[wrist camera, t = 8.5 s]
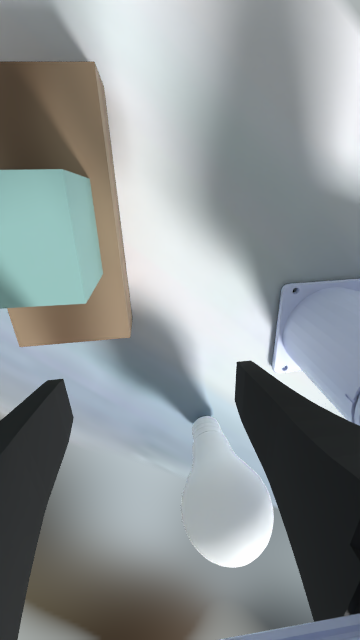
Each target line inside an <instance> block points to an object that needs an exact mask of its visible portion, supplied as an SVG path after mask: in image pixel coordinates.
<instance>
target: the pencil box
mask: <svg viewBox="0 0 360 640" xmlns="http://www.w3.org/2000/svg"><path fill="white" fill-rule="evenodd" d="M38 169H63V170H66V171H69V172H72V173H75V174H78V175H81V176H83V177H86V178H89V179H90V184H91V191H92V198H93V205H94V212H95V219H96V227H97V234H98V241H99V248H100V255H101V262H102V269H103V275H102V277H101V278H100V280H99V282H98V284H97V285H96V287H95V289H94V291H93V292H92V294H91V296H90V297H89V299H88V301H87V303H86V304H70V305H53V306H36V307H18V308H7V309H8V313H9V316H10V319H11V322H12V325H13V328H14V331H15V334H16V337H17V340H18V343H19V346H20V347H27V346H38V345H50V344H61V343H73V342H85V341H96V340H108V339H119V338H130V335H131V327H132V312H131V304H130V296H129V288H128V279H127V271H126V263H125V255H124V247H123V239H122V231H121V222H120V214H119V206H118V198H117V190H116V182H115V173H114V165H113V157H112V149H111V141H110V133H109V125H108V116H107V108H106V100H105V92H104V86H103V83H102V81H101V78H100V75H99V73H98V70H97V68H96V65H95V62H0V170H38Z"/></svg>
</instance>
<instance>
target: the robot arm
mask: <svg viewBox="0 0 360 640" xmlns="http://www.w3.org/2000/svg"><path fill="white" fill-rule="evenodd" d="M294 288H297V290H296V291H295V292H294V293H293V289H294ZM283 366H285V367H284V368H282V367H283ZM272 369H273V371H274V372H275V373H286V372H296V371H303V372H304V373H305V374H306V375H307V376H308V377H309V379H310V380H311V381H312V382H313V383H314V384H315V385H316V386H317V387H318V388H319V390H320V391H321V392H322V393H323V394H324V395H325V396H326V397H327V398H328V400H329V401H330V402H331V403H332V404H333V405H334V406H335V407H336V408H337V409H338V411H339V412H340V413H341V414H342V415H343V416H344V417H345V418H346V419H347V420H346V419H344V418H342V417H339V416H337V415H335V414H334V413H332V412H330V411H328V410H326V409H324V408H322V407H320V406H318V405H317V404H315V403H313V402H311V401H310V400H308V399H306V398H305V397H303V396H302V395H300V394H298V393H297V392H295V391H294V390H292V389H291V388H289V387H288V386H286V385H285V384H283V383H282V382H280V381H279V380H277V379H276V378H275V377H273V376H272V375H270V374H269V373H268V372H266V371H265V370H263V369H262V368H261V367H259V366H258V365H257V364H255V363H254V362H252V361H242V362H237V369H236V387H235V402H236V406H237V409H238V412H239V415H240V418H241V421H242V423H243V426H244V428H245V430H246V432H247V434H248V437H249V439H250V441H251V443H252V445H253V447H254V449H255V452H256V454H257V456H258V458H259V460H260V462H261V464H262V466H263V469H264V471H265V473H266V476H267V478H268V480H269V483H270V486H271V488H272V491H273V494H274V497H275V500H276V502H277V505H278V508H279V511H280V514H281V517H282V520H283V523H284V526H285V528H286V531H287V534H288V538H289V541H290V544H291V547H292V550H293V553H294V556H295V559H296V563H297V566H298V569H299V572H300V575H301V579H302V582H303V586H304V589H305V592H306V596H307V599H308V602H309V606H310V609H311V612H312V616H313V619H314V622H311V623H306V624H301V625H295V626H290V627H284V628H279V629H273V630H268V631H263V632H257V633H252V634H246V635H241V636H236V637H230V638H225V639H219V640H360V279H347V280H334V281H320V282H306V283H293V284H286V285H284V286H283V287H282V290H281V297H280V305H279V313H278V322H277V330H276V338H275V347H274V355H273V363H272ZM72 423H73V414H72V410H71V406H70V403H69V399H68V395H67V391H66V388H65V384H64V380H63V379H57V380H48V381H46V382H45V383H44V384H42V385H41V386H40V387H39V388H38V389H37V390H35V391H34V392H33V393H32V394H31V395H30V396H29V397H27V398H26V399H25V400H24V401H23V402H22V403H21V404H19V405H18V406H17V407H16V408H15V409H14V410H12V411H11V412H10V413H9V414H8V415H7V416H5V417H4V418H3V419H2V420H0V640H17V639H18V633H19V628H20V622H21V617H22V612H23V607H24V602H25V597H26V592H27V587H28V582H29V577H30V573H31V568H32V564H33V560H34V555H35V550H36V546H37V542H38V538H39V534H40V530H41V526H42V521H43V517H44V513H45V510H46V507H47V503H48V500H49V497H50V494H51V491H52V488H53V486H54V482H55V480H56V477H57V474H58V471H59V468H60V466H61V463H62V460H63V457H64V454H65V451H66V448H67V445H68V442H69V437H70V433H71V428H72Z"/></svg>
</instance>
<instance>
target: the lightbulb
mask: <svg viewBox="0 0 360 640" xmlns="http://www.w3.org/2000/svg"><path fill="white" fill-rule="evenodd" d="M192 431H193V440H194V442H193V446H192V450H193V464H192V469H191V472H190V474H189V476H188V479H187V481H186V484H185V487H184V491H183V495H182V504H181V511H182V519H183V524H184V527H185V530H186V532H187V534H188V536H189V539H190V541H191V543H192V544H193V545H194V546H195V548H196V549H197V550H198V551H199V552H200V553H201V554H202V555H203V556H204V557H205V558H206V559H208V560H209V561H211V562H213V563H215V564H217V565H220V566H225V567H241V566H244V565H247V564H249V563H250V562H252V561H253V560H254V559H256V558H257V557H258V556H259V555H260V554H261V553H262V551H263V550H264V549H265V547H266V546H267V544H268V541H269V539H270V536H271V533H272V527H273V519H274V517H273V507H272V502H271V498H270V494H269V492H268V489H267V487H266V485H265V484H264V482H263V481H262V479H261V478H260V476H259V475H258V474H257V473H256V472H255V471H254V470H253V469H252V468H251V467H250V466H249V465H247V464H246V463H245V462H244V461H243V460H241V459H240V458H239V457H238V456H237V455H236V454H235V453H234V451H233V449H232V448H231V446H230V444H229V441H228V439H227V438H226V436H225V435H224V434H223V432H222V430H221V427H220V425H219V423H218V421H217V420H216V419H215V418H213V417H211V416H203V417H200V418H198V419H197V420H196V421H195V422H194V424H193V426H192Z"/></svg>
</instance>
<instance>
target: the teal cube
mask: <svg viewBox="0 0 360 640" xmlns="http://www.w3.org/2000/svg"><path fill="white" fill-rule="evenodd" d="M102 275H103V269H102V262H101V255H100V248H99V241H98V234H97V227H96V219H95V212H94V205H93V198H92V191H91V184H90V179H89V178H86V177H83V176H81V175H78V174H75V173H72V172H69V171H66V170H63V169H38V170H0V309H1V308H18V307H36V306H53V305H70V304H86V303H87V301H88V299H89V297H90V296H91V294H92V292H93V291H94V289H95V287H96V285H97V284H98V282H99V280H100V278H101V277H102Z"/></svg>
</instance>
